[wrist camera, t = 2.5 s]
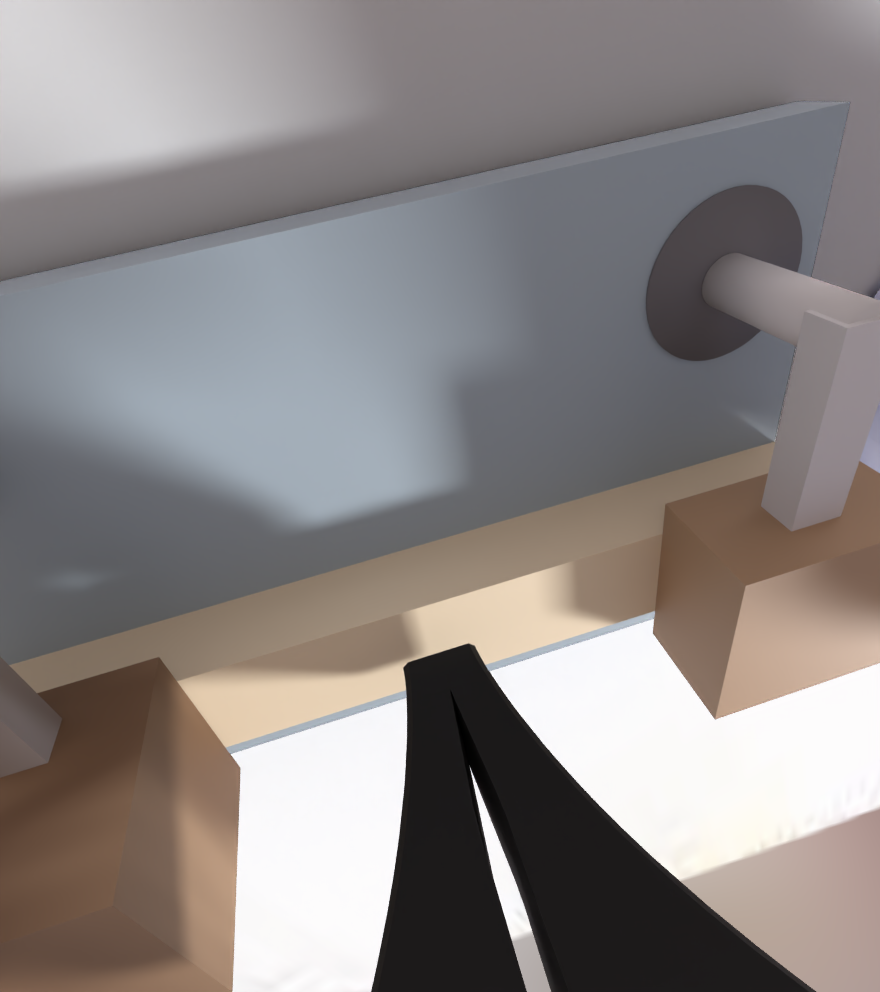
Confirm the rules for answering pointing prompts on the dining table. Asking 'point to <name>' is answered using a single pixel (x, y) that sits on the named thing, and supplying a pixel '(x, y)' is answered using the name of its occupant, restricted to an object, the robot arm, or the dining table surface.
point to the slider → (115, 837)
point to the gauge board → (455, 435)
